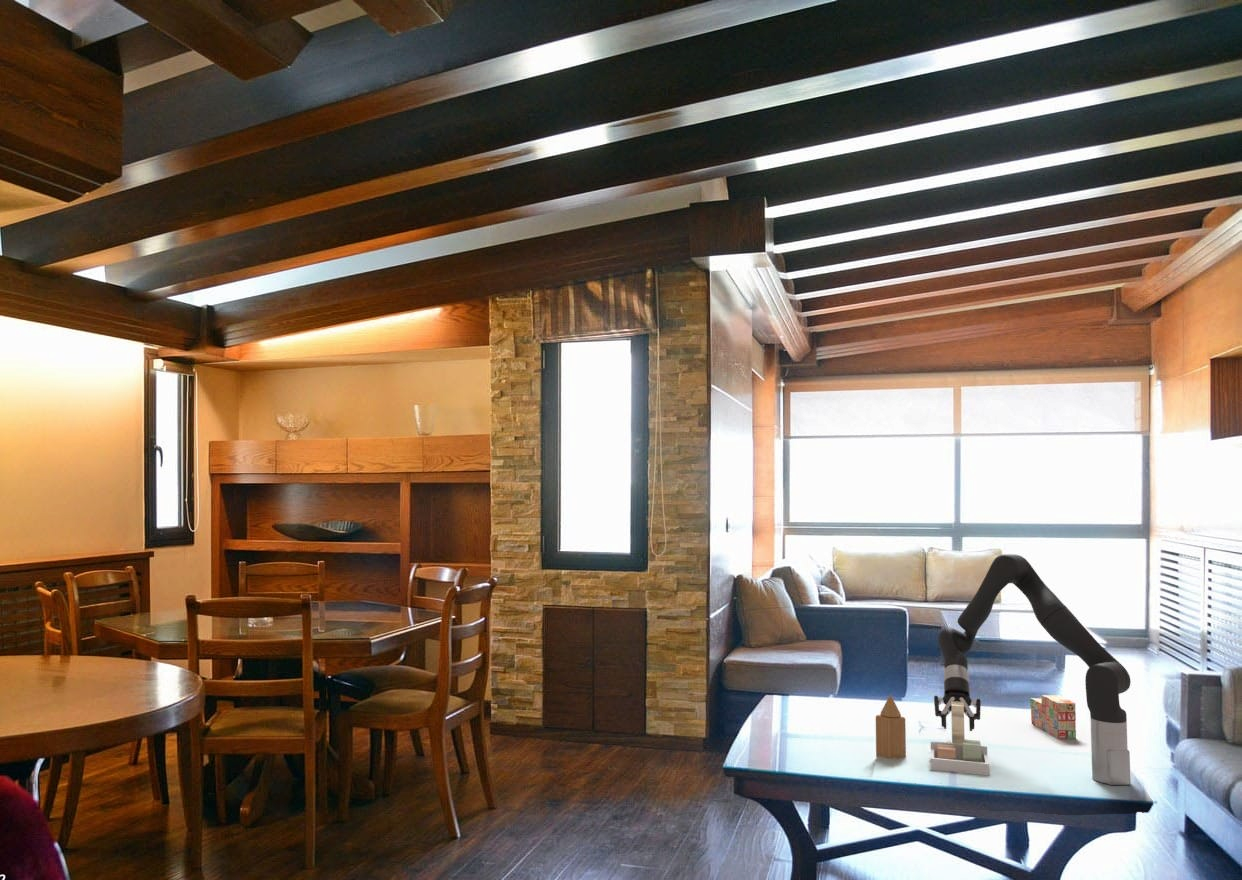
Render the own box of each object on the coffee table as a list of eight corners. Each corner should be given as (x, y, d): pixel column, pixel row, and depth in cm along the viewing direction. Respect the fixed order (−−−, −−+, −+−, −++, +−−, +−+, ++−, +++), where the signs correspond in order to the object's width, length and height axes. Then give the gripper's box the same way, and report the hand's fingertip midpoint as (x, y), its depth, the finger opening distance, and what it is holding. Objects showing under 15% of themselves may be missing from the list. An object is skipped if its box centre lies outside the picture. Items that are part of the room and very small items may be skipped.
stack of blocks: (1030, 723, 324) (1029, 689, 325) (1048, 724, 324) (1047, 689, 325) (1058, 739, 303) (1057, 702, 304) (1076, 739, 302) (1075, 702, 303)
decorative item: (906, 761, 274) (905, 695, 276) (890, 763, 271) (889, 696, 273) (891, 755, 280) (890, 691, 282) (875, 758, 277) (874, 692, 279)
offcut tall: (981, 770, 260) (980, 745, 261) (963, 768, 262) (962, 744, 262) (980, 764, 266) (980, 740, 266) (962, 763, 267) (962, 739, 268)
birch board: (964, 760, 270) (963, 706, 272) (952, 759, 272) (951, 705, 273) (964, 754, 277) (963, 701, 278) (952, 753, 278) (951, 700, 279)
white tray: (989, 780, 256) (989, 757, 256) (930, 774, 261) (930, 751, 261) (985, 758, 278) (985, 736, 279) (931, 753, 283) (930, 732, 284)
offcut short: (955, 767, 263) (955, 749, 263) (937, 765, 265) (937, 748, 265) (955, 762, 268) (955, 745, 268) (937, 761, 269) (937, 744, 270)
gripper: (932, 674, 285) (933, 719, 273) (980, 677, 281) (983, 723, 269) (932, 687, 290) (933, 733, 278) (980, 691, 285) (983, 737, 273)
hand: (958, 728), depth 273 cm, fingers open, 7 cm apart
